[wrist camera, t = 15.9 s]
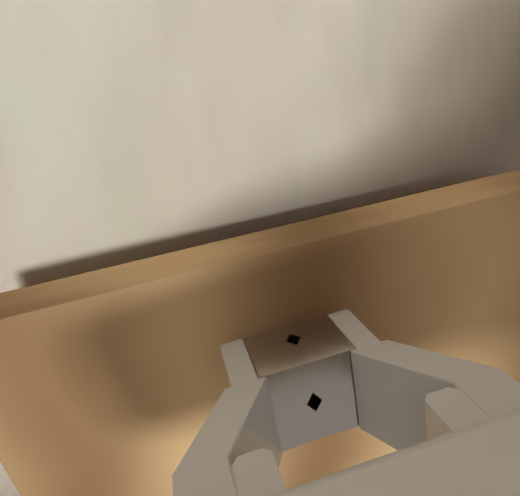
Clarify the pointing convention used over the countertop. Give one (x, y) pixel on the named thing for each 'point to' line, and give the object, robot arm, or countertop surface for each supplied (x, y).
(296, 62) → the countertop surface
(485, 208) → the oak plank
